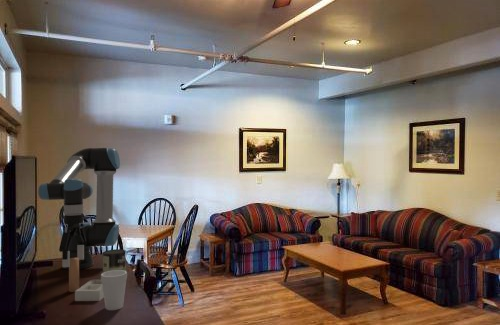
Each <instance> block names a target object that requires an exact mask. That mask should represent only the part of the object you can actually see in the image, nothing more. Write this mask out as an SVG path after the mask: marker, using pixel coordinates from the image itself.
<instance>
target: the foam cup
mask: <svg viewBox="0 0 500 325" xmlns="http://www.w3.org/2000/svg"><path fill="white" fill-rule="evenodd" d="M100 279H101V282H102V288H103V295H104V298H103V301H104V307H105V310H107V311H116V310H120V309H122V308H123V307H124V303H125V302H124V301H125V295H126V294H125V293H126V284H127V279H128V272H127V270H126V271H124V270H112V271H107V272H104V273H103V272H102V273H101V274H100Z"/></svg>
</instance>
